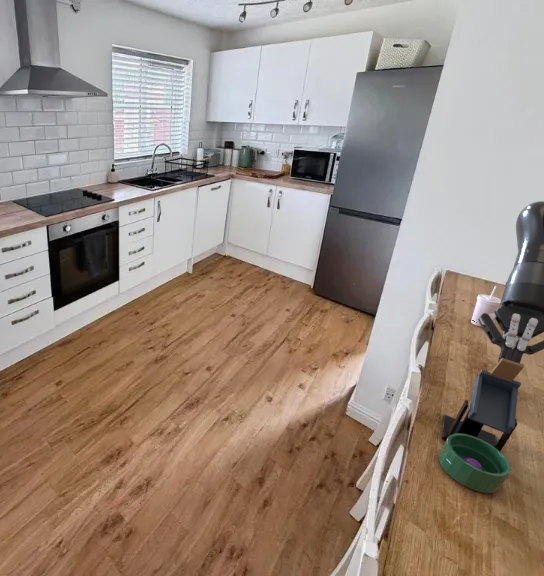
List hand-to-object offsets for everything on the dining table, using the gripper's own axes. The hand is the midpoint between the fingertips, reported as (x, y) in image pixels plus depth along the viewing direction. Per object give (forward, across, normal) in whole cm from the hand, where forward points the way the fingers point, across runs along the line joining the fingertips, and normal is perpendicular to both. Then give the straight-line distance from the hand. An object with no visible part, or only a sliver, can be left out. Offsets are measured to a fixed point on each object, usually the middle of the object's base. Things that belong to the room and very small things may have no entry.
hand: (507, 368), depth 70 cm
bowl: (+21, 0, +5) cm, 21 cm away
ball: (+20, 0, +3) cm, 20 cm away
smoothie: (-32, +2, +59) cm, 67 cm away
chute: (+7, 0, +3) cm, 8 cm away
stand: (+14, 0, +12) cm, 18 cm away
